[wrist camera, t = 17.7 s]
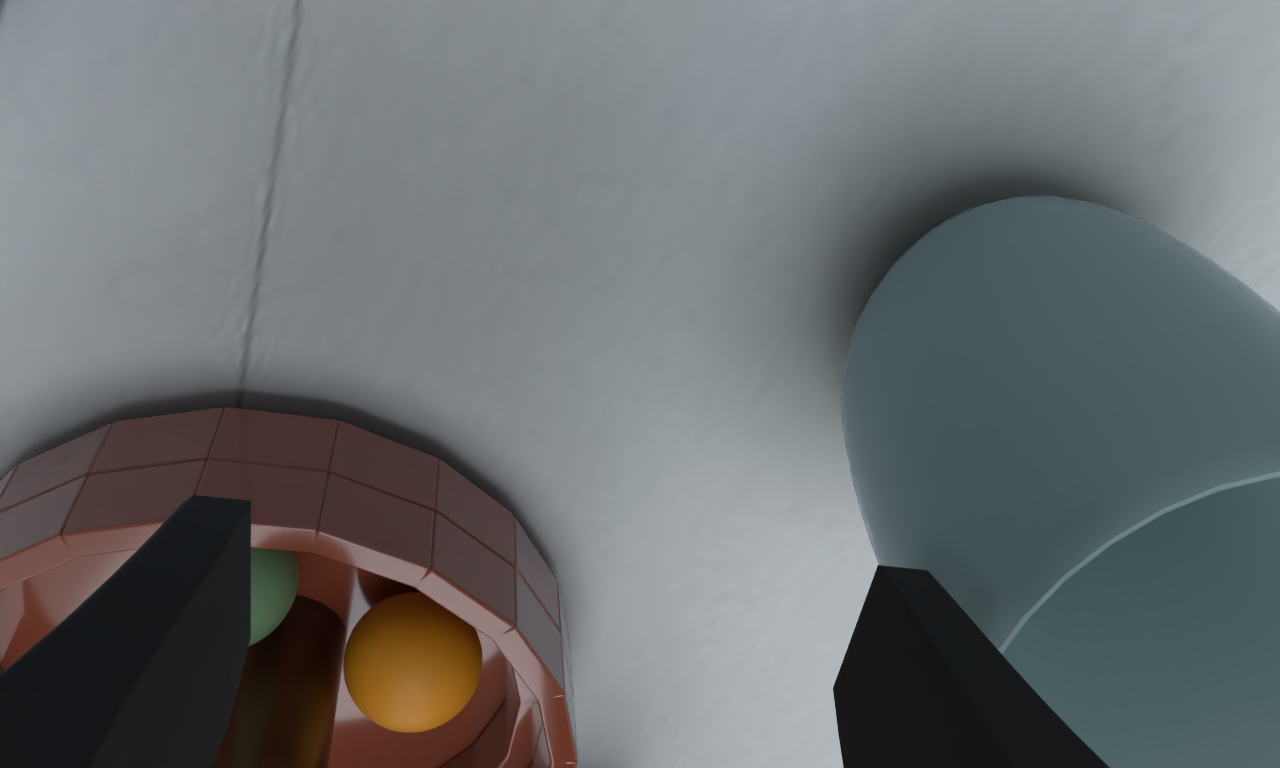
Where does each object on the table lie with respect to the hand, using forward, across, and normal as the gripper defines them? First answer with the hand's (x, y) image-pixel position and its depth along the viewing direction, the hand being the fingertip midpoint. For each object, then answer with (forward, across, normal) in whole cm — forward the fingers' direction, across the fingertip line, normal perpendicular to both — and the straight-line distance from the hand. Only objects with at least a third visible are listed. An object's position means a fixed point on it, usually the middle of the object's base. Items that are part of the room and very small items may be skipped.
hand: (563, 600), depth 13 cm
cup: (+11, -9, +1) cm, 14 cm away
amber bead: (+9, +2, +10) cm, 13 cm away
